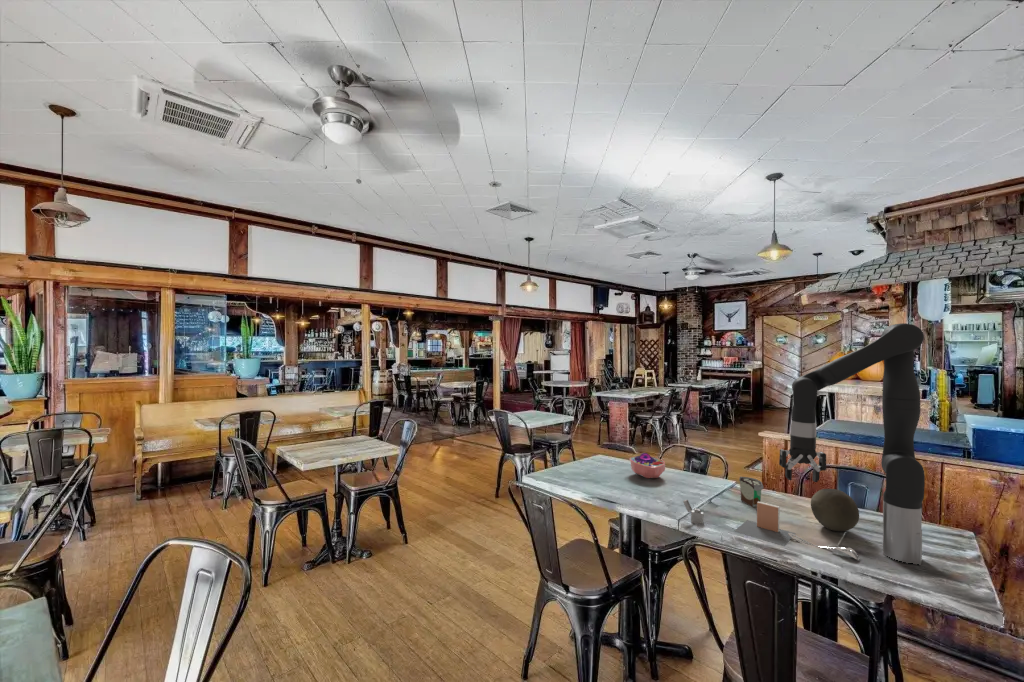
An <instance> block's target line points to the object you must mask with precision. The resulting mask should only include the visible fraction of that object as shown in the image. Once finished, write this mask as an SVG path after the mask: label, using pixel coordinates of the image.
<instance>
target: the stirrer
mask: <svg viewBox="0 0 1024 682" xmlns="http://www.w3.org/2000/svg"><path fill="white" fill-rule="evenodd" d="M792 533H793V532H792ZM792 533H788V535H789V536H790V537H791V539H793V540H794V541H796V542H799V543H800V544H804V545H809V546H813V547H815V548H820V549H832V550H837V551H840V552H841V553H844V554H846V555H847V556H850V557H851V558H853V559H855V560H856V561H860V560H859V559H860V556H859V555H858V553H857V552H856V551H855V549H853V548H851V547H848V546H845V545H844V546H824V545H823V546H822V545H817V544H814V543H811V542H808V541H807V540H805V539H803V538H801V537H799V536H798V535H796V534H792ZM792 535H793V536H792Z"/></svg>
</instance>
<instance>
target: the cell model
mask: <svg viewBox="0 0 1024 682" xmlns="http://www.w3.org/2000/svg"><path fill="white" fill-rule="evenodd" d="M629 461H630V468H631V470H632V472H633V473H635V474H636V475H638V476H641V477H643V478H645V479H657V478H659V477H661V475H662V474H663V473H664V472H665V470H666V462H665V460H663V459H661V458H658V457H656V456H655V457H654V456H651V455H650V453H647V452H642V453H640V455H636V456H631V457H629Z"/></svg>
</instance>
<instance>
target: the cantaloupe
mask: <svg viewBox="0 0 1024 682" xmlns="http://www.w3.org/2000/svg"><path fill="white" fill-rule="evenodd" d="M810 507H811V511H812V514H813V516H814V518H815V520H817V521H818V523H819V524H821V526H823V527H824V528H827V529H828V530H830V531H832V532H847V531H849V530H850V531H851V530H853V528H855V527H856V526H857V524H858V523H859V521H860V510H859V508H858V505H857V504H856V501H855V500H854V499H853V497H851V496H850V495H849V494H847V493H846V492H844V491H842V490H840V489H835V488H822V489H819V490H818V491H816V492H815V493H814V494H813V495H812V497H811V499H810Z"/></svg>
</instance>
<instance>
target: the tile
mask: <svg viewBox="0 0 1024 682" xmlns="http://www.w3.org/2000/svg"><path fill="white" fill-rule="evenodd" d="M756 523H757V527H761V528H764V529H768V530H771V531H775V532H779V529H780V506H779V505H775V504H771V503H766V502H763V501H760V502H759V501H758V502H757V507H756Z"/></svg>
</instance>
